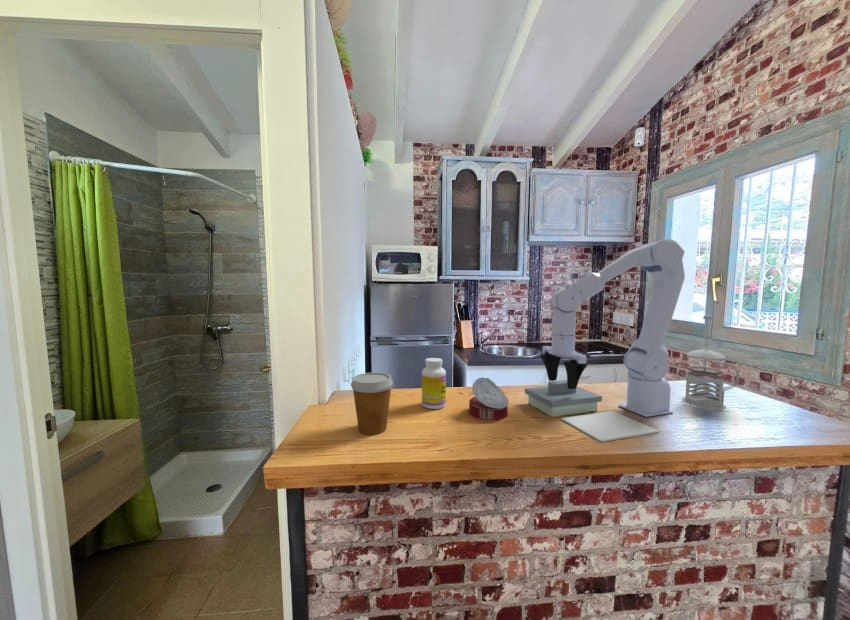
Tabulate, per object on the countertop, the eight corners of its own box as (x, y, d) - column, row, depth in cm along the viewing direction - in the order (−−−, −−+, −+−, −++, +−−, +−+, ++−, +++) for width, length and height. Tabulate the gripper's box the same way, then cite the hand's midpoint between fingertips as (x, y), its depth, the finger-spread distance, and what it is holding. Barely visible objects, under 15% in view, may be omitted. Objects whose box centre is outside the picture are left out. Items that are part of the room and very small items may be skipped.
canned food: (496, 423, 85) (513, 391, 85) (502, 437, 75) (521, 400, 75) (459, 403, 87) (476, 371, 86) (460, 413, 76) (479, 377, 76)
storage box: (569, 398, 92) (569, 386, 91) (597, 410, 82) (597, 397, 82) (528, 403, 88) (528, 391, 87) (552, 416, 78) (552, 403, 78)
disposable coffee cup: (400, 423, 74) (399, 373, 74) (381, 441, 65) (381, 385, 65) (364, 418, 78) (364, 370, 77) (342, 434, 69) (342, 381, 68)
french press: (679, 395, 94) (683, 313, 92) (732, 403, 87) (737, 314, 86) (681, 405, 86) (686, 315, 84) (741, 415, 79) (746, 317, 78)
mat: (612, 412, 81) (612, 410, 81) (658, 432, 69) (658, 430, 69) (561, 419, 76) (561, 418, 76) (601, 442, 65) (601, 440, 65)
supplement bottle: (444, 410, 82) (444, 362, 81) (419, 409, 84) (419, 361, 83) (447, 402, 89) (447, 357, 88) (424, 400, 90) (424, 356, 89)
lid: (570, 388, 92) (570, 374, 92) (601, 401, 81) (602, 385, 81) (524, 393, 88) (525, 378, 88) (551, 407, 77) (552, 391, 77)
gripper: (533, 331, 89) (532, 378, 90) (570, 338, 76) (569, 393, 76) (554, 330, 91) (553, 376, 92) (594, 337, 78) (592, 391, 78)
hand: (561, 384), depth 84 cm, fingers open, 7 cm apart
